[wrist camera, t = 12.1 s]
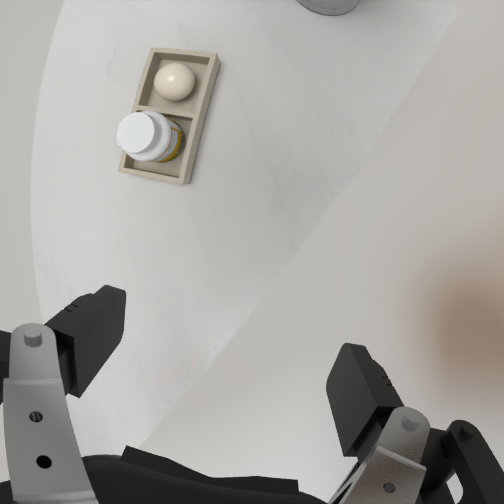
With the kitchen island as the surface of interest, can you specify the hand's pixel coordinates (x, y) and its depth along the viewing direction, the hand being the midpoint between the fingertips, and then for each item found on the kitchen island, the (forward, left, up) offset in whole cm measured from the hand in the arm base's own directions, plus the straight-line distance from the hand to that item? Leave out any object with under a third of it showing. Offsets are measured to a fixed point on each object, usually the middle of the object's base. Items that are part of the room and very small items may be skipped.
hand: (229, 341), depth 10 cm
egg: (-14, -12, -28) cm, 33 cm away
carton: (-11, -12, -28) cm, 32 cm away
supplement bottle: (-7, -12, -28) cm, 31 cm away
